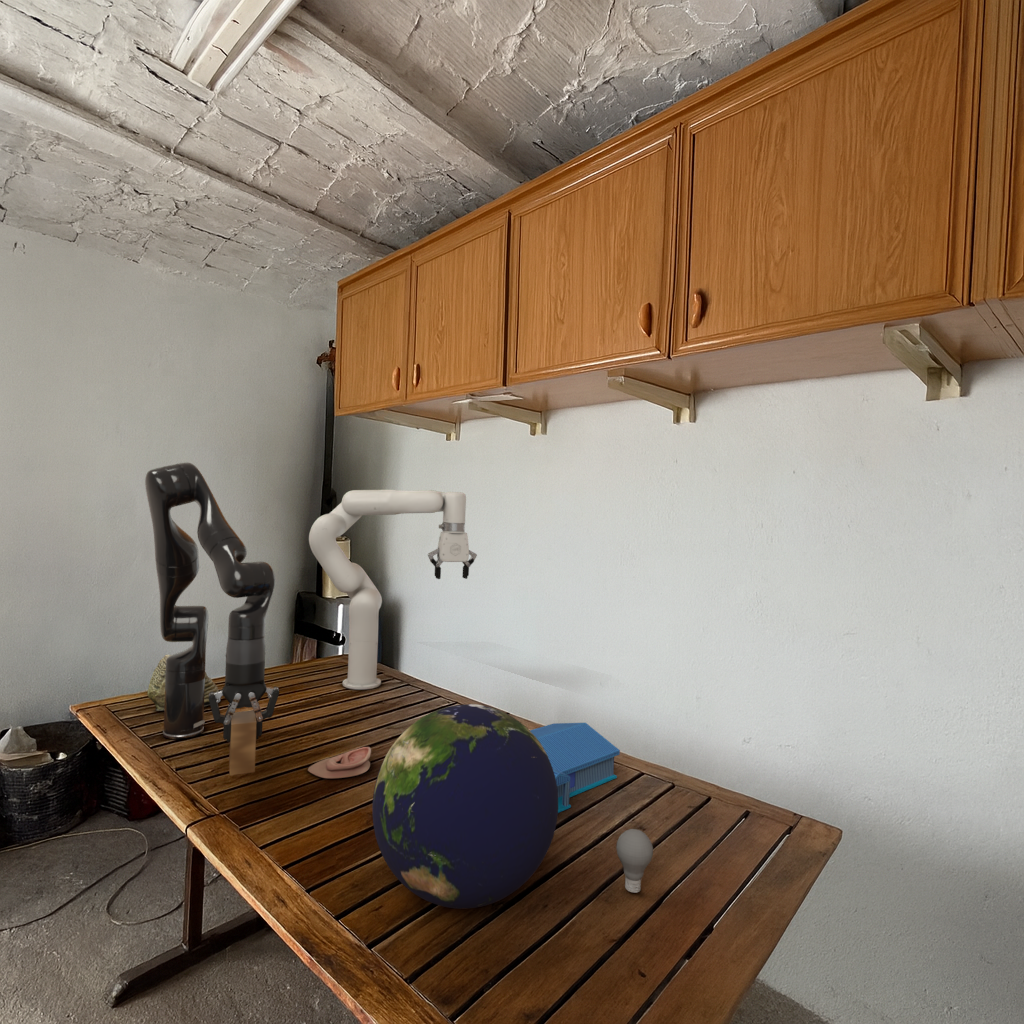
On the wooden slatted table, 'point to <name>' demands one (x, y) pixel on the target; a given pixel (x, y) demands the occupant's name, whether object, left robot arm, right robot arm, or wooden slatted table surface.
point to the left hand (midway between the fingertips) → (242, 739)
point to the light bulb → (634, 857)
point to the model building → (576, 758)
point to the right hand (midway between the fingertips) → (451, 578)
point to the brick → (242, 743)
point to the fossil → (158, 686)
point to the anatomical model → (343, 764)
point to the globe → (465, 806)
